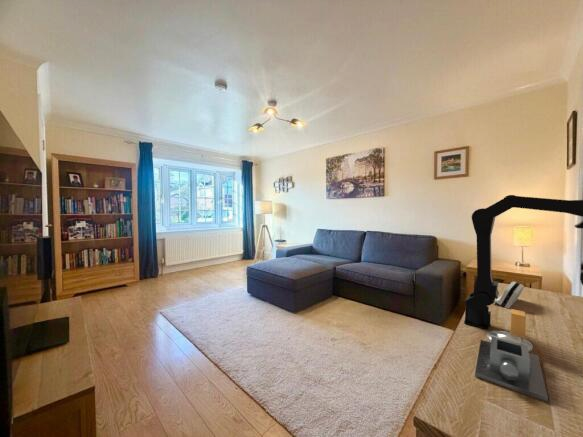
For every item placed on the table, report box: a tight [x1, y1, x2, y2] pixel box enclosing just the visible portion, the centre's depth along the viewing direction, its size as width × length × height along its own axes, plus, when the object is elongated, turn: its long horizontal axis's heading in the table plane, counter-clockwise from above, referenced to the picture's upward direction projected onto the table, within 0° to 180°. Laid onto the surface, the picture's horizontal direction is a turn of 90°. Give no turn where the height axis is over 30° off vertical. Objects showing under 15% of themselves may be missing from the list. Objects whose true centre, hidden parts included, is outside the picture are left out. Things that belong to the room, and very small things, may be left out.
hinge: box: [492, 281, 525, 309], centre depth 103 cm, size 17×5×10 cm, turn 128°
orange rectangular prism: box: [509, 308, 526, 339], centre depth 71 cm, size 3×4×10 cm
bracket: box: [474, 330, 549, 403], centre depth 62 cm, size 12×20×6 cm, turn 139°
